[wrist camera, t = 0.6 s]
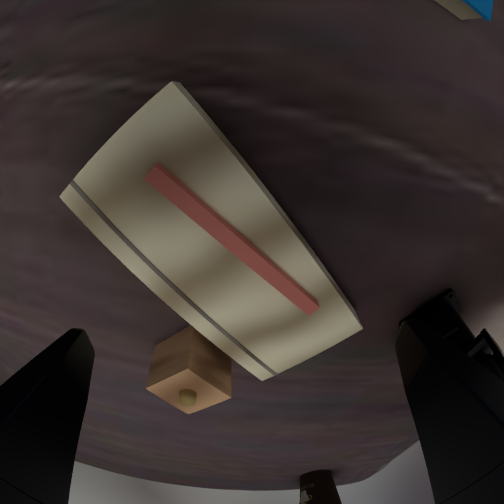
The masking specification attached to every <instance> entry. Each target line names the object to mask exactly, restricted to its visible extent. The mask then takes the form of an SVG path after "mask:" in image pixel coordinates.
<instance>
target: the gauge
mask: <svg viewBox="0 0 504 504" xmlns="http://www.w3.org/2000/svg"><path fill="white" fill-rule="evenodd" d="M146 389H147V390H149V391H150V392H152V393H154V394H155V395H157V396H158V397H160V398H162V399H163V400H165V401H166V402H168V403H170V404H171V405H173V406H175V407H177V408H178V409H180V410H182V411H184V412H185V413H187V414H190V413H193V412H196V411H199V410H201V409H204V408H207V407H209V406H212V405H215V404H217V403H220V402H222V401H225V400H227V399H230V398H231V357H230V356H228V355H227V354H226V353H225V352H223V351H222V350H221V349H220V348H218V347H217V346H216V345H215V344H213V343H212V342H211V341H210V340H208V339H207V338H206V337H205V336H204V335H202V334H201V333H200V332H199V331H198V330H196V329H195V328H194V327H193V326H192V325H190V326H188V327H187V328H185V329H183V330H181V331H180V332H178V333H176V334H175V335H173V336H171V337H170V338H168V339H166V340H164V341H163V342H161V343H159V344H158V345H156V346H155V349H154V353H153V357H152V362H151V366H150V370H149V375H148V379H147V384H146Z"/></svg>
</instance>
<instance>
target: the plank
mask: <svg viewBox="0 0 504 504" xmlns="http://www.w3.org/2000/svg"><path fill="white" fill-rule="evenodd" d="M157 163H159V164H160V165H162V166H163V167H164V168H165V169H166V170H167V171H169V172H170V173H171V174H172V175H173V176H174V177H176V178H177V179H178V180H179V181H180V182H181V183H183V184H184V185H185V186H186V187H187V188H188V189H189V190H191V191H192V192H193V193H194V194H195V195H196V196H198V197H199V198H200V199H201V200H202V201H203V202H204V203H206V204H207V205H208V206H209V207H210V208H211V209H213V210H214V211H215V212H216V213H217V214H218V215H219V216H221V217H222V218H223V219H224V220H225V221H226V222H228V223H229V224H230V225H231V226H232V227H233V228H234V229H236V230H237V231H238V232H239V233H240V234H241V235H242V236H244V237H245V238H246V239H247V240H248V241H249V242H251V243H252V244H253V245H254V246H255V247H256V248H257V249H259V250H260V251H261V252H262V253H263V254H264V255H265V256H267V257H268V258H269V259H270V260H271V261H272V262H273V263H275V264H276V265H277V266H278V267H279V268H280V269H281V270H283V271H284V272H285V273H286V274H287V275H288V276H289V277H291V278H292V279H293V280H294V281H295V282H296V283H297V284H299V285H300V286H301V287H302V288H303V289H304V290H305V291H307V292H308V293H309V294H310V295H311V296H312V297H313V298H315V299H316V300H317V301H318V304H319V307H320V308H319V309H317V310H316V311H314V312H313V313H312V314H310V315H309V316H308V315H307V314H306V313H305V312H303V311H302V310H301V309H300V308H298V307H297V306H296V305H295V304H294V303H292V302H291V301H290V300H289V299H287V298H286V297H285V296H284V295H283V294H281V293H280V292H279V291H278V290H276V289H275V288H274V287H273V286H272V285H270V284H269V283H268V282H267V281H265V280H264V279H263V278H262V277H261V276H259V275H258V274H257V273H256V272H255V271H253V270H252V269H251V268H250V267H248V266H247V265H246V264H245V263H244V262H242V261H241V260H240V259H239V258H238V257H236V256H235V255H234V254H233V253H232V252H230V251H229V250H228V249H227V248H226V247H224V246H223V245H222V244H221V243H220V242H218V241H217V240H216V239H215V238H214V237H212V236H211V235H210V234H209V233H208V232H206V231H205V230H204V229H203V228H202V227H200V226H199V225H198V224H197V223H196V222H194V221H193V220H192V219H191V218H190V217H188V216H187V215H186V214H185V213H184V212H182V211H181V210H180V209H179V208H178V207H177V206H175V205H174V204H173V203H172V202H171V201H169V200H168V199H167V198H166V197H165V196H163V195H162V194H161V193H160V192H159V191H158V190H156V189H155V188H154V187H153V186H152V185H151V184H149V183H148V182H147V181H146V180H145V179H144V178H145V177H146V176H147V174H148V173H149V172H150V171H151V170H152V168H153V167H154V166H155V165H156V164H157ZM59 197H60V198H61V199H62V200H63V201H64V203H65V204H66V205H67V206H68V207H69V208H70V209H71V210H72V211H73V212H74V214H75V215H76V216H77V217H78V218H79V219H80V220H81V221H82V222H83V223H84V224H85V225H86V226H87V227H88V229H89V230H90V231H91V232H92V233H93V234H94V235H95V236H96V237H97V238H98V239H99V240H100V241H101V242H102V243H103V244H104V245H105V246H106V247H107V248H108V249H109V250H110V251H111V252H112V253H113V254H114V255H115V256H116V257H117V258H118V259H119V260H120V261H121V262H122V263H123V264H124V265H125V266H126V267H127V268H128V269H129V270H130V271H131V272H133V273H134V274H135V275H136V276H137V277H138V278H139V279H140V280H141V281H142V282H143V283H144V284H145V285H146V286H147V287H149V288H150V289H151V290H152V291H153V292H154V293H155V294H156V295H157V296H158V297H160V298H161V299H162V300H163V301H164V302H165V303H166V304H167V305H169V306H170V307H171V308H172V309H173V310H174V311H175V312H176V313H178V314H179V315H180V316H181V317H182V318H183V319H185V320H186V321H187V322H188V323H189V324H190V325H192V326H193V327H194V328H195V329H196V330H198V331H199V332H200V333H201V334H202V335H204V336H205V337H206V338H207V339H208V340H210V341H211V342H212V343H213V344H215V345H216V346H217V347H218V348H220V349H221V350H222V351H223V352H225V353H226V354H227V355H228V356H230V357H231V358H232V359H234V360H235V361H236V362H237V363H239V364H240V365H241V366H243V367H244V368H245V369H247V370H248V371H249V372H251V373H252V374H253V375H255V376H256V377H257V378H259V379H260V380H261V381H263V380H266V379H268V378H270V377H272V376H276V375H278V373H281V372H283V371H285V370H287V369H289V368H291V367H293V366H295V365H297V364H299V363H301V362H303V361H305V360H307V359H309V358H311V357H313V356H315V355H317V354H318V353H320V352H322V351H324V350H326V349H328V348H330V347H332V346H333V345H335V344H337V343H339V342H341V341H342V340H344V339H346V338H348V337H350V336H351V335H353V334H355V333H356V332H358V331H360V330H362V329H363V328H362V325H361V323H360V321H359V319H358V316H357V314H356V312H355V310H354V308H353V307H352V305H351V304H350V302H349V301H348V300H347V298H346V297H345V295H344V294H343V292H342V291H341V289H340V288H339V287H338V285H337V284H336V282H335V281H334V279H333V278H332V277H331V275H330V274H329V272H328V271H327V269H326V268H325V267H324V265H323V264H322V262H321V261H320V260H319V258H318V257H317V255H316V254H315V253H314V251H313V250H312V249H311V247H310V246H309V244H308V243H307V242H306V240H305V239H304V238H303V236H302V235H301V234H300V232H299V231H298V229H297V228H296V227H295V225H294V224H293V223H292V221H291V220H290V219H289V217H288V216H287V215H286V213H285V212H284V211H283V209H282V208H281V207H280V205H279V204H278V203H277V201H276V200H275V199H274V198H273V196H272V195H271V194H270V192H269V191H268V190H267V188H266V187H265V186H264V185H263V183H262V182H261V181H260V179H259V178H258V177H257V176H256V174H255V173H254V172H253V170H252V169H251V168H250V167H249V165H248V164H247V163H246V162H245V160H244V159H243V158H242V157H241V155H240V154H239V153H238V152H237V150H236V149H235V148H234V147H233V145H232V144H231V143H230V142H229V140H228V139H227V138H226V137H225V135H224V134H223V133H222V132H221V131H220V129H219V128H218V127H217V126H216V124H215V123H214V122H213V121H212V120H211V118H210V117H209V116H208V115H207V114H206V112H205V111H204V110H203V109H202V108H201V106H200V105H199V104H198V103H197V102H196V101H195V99H194V98H193V97H192V96H191V95H190V94H189V92H188V91H187V90H186V89H185V88H184V87H183V85H182V84H181V83H180V82H174V81H171V82H170V83H169V84H168V85H166V86H165V87H164V88H163V89H162V90H161V91H159V92H158V93H157V94H156V95H155V96H154V97H153V98H151V99H150V100H149V101H148V102H147V103H146V104H145V105H144V106H143V107H142V108H140V109H139V110H138V111H137V112H136V113H135V114H134V115H133V116H132V117H131V118H130V119H129V120H128V121H127V122H126V123H125V124H124V125H123V126H122V127H121V128H120V129H119V130H118V131H117V132H116V133H115V134H114V135H113V136H112V137H111V138H110V139H109V140H108V141H107V142H106V143H105V144H104V145H103V146H102V147H101V148H100V149H99V151H98V152H97V153H96V154H95V155H94V156H93V157H92V158H91V159H90V160H89V162H88V163H87V164H86V165H85V166H84V167H83V168H82V170H81V171H80V172H79V173H78V174H77V176H76V177H75V178H74V179H73V180H72V181H71V182H70V184H69V185H68V186H67V188H66V189H65V190H64V191H63V193H62V194H61V195H60V196H59Z"/></svg>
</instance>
